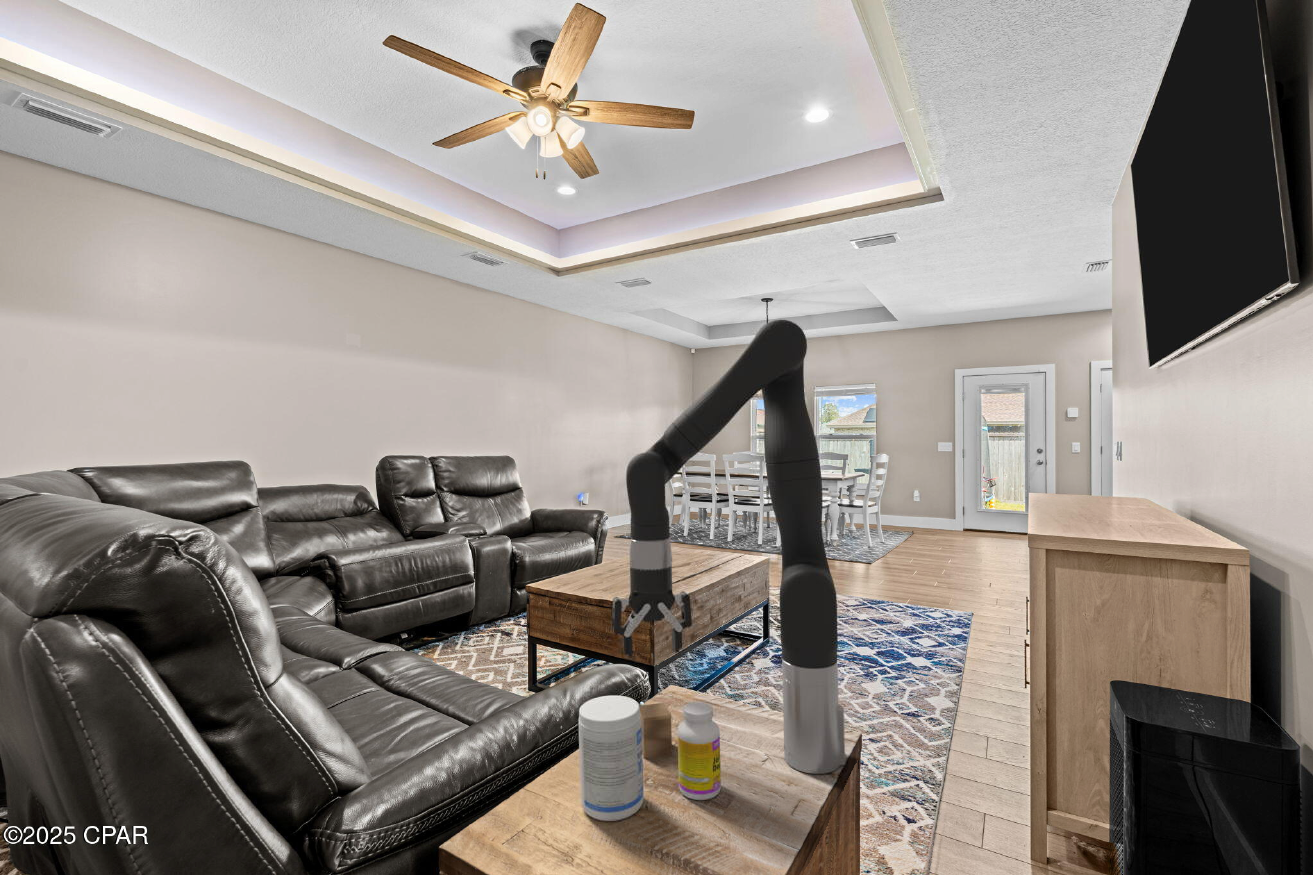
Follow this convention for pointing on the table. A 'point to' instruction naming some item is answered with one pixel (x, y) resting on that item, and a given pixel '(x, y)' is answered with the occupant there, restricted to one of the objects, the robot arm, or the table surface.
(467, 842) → the table surface
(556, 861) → the table surface
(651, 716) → the walnut block
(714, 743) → the supplement bottle
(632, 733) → the supplement tub
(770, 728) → the table surface
